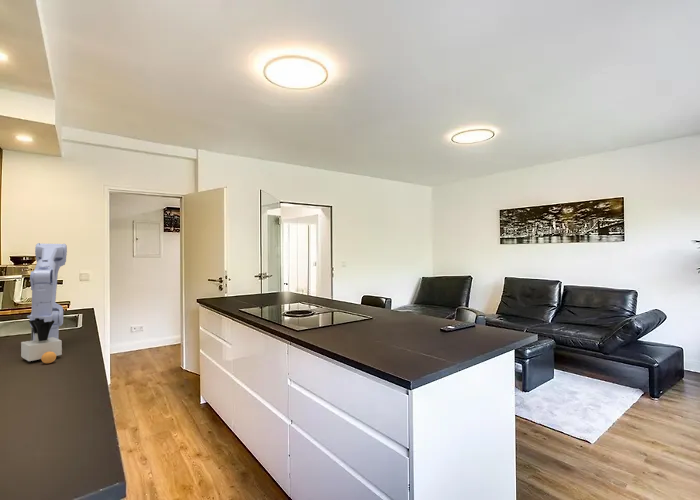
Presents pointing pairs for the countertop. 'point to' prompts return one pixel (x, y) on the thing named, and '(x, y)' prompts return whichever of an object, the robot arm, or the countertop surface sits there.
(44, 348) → the grey knobbed block
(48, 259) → the robot arm
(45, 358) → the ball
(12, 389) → the countertop surface
